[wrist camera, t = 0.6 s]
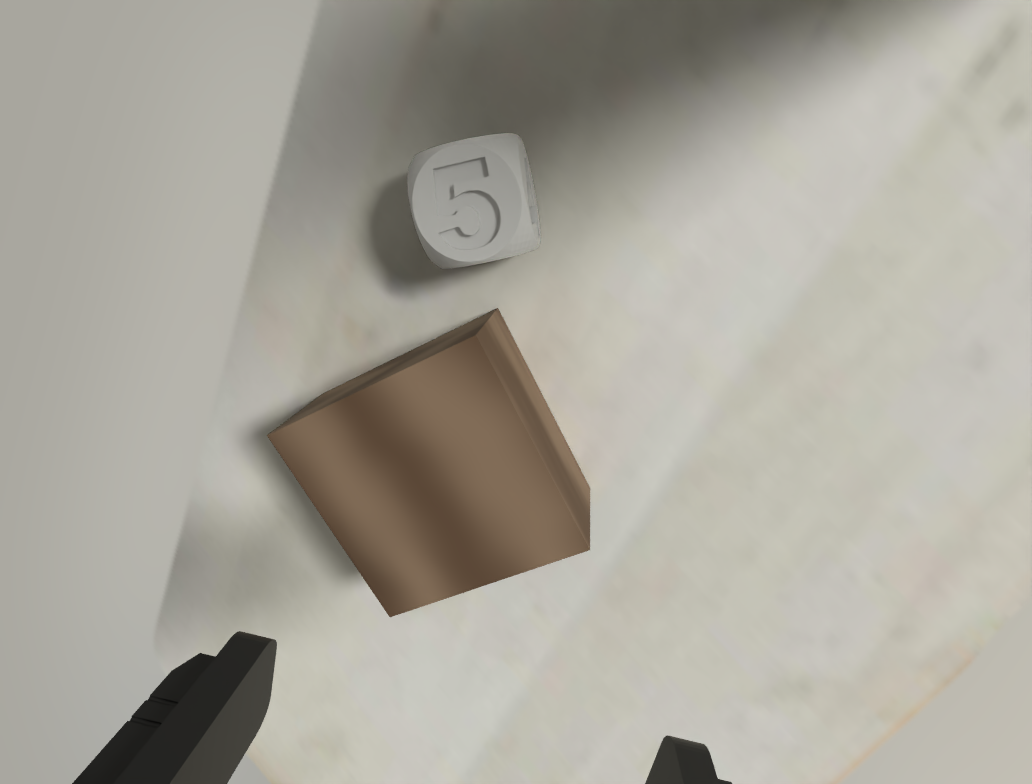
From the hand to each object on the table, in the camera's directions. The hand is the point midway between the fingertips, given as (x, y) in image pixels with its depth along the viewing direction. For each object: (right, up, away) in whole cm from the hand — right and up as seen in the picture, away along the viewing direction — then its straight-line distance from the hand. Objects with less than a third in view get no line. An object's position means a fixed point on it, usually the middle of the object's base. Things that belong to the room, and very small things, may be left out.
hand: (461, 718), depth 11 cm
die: (0, +16, +17) cm, 23 cm away
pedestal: (-3, +4, +21) cm, 22 cm away
